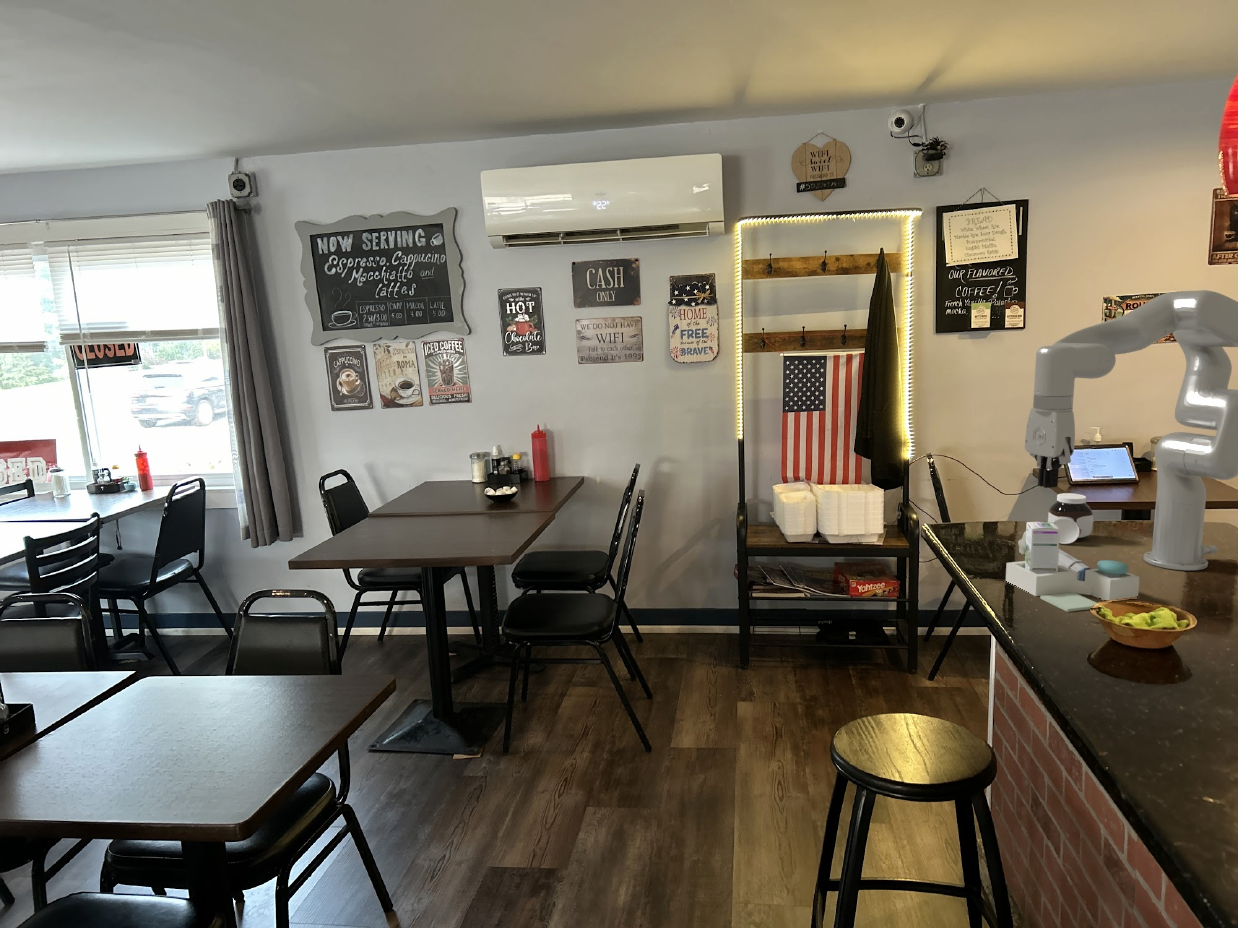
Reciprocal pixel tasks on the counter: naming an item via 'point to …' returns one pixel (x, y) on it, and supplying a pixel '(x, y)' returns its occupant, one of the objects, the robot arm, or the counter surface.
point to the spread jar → (1071, 517)
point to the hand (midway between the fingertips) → (1047, 486)
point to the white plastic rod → (1062, 560)
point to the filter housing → (1072, 582)
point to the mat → (1069, 601)
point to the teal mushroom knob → (1112, 568)
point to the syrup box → (1042, 547)
